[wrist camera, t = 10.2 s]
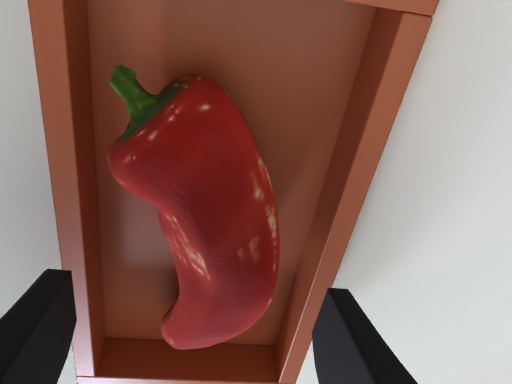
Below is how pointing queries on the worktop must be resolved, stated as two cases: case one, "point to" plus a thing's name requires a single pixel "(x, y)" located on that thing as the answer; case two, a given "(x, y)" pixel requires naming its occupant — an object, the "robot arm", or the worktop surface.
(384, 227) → the worktop surface
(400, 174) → the worktop surface
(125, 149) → the vegetable
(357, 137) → the tray
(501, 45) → the worktop surface
